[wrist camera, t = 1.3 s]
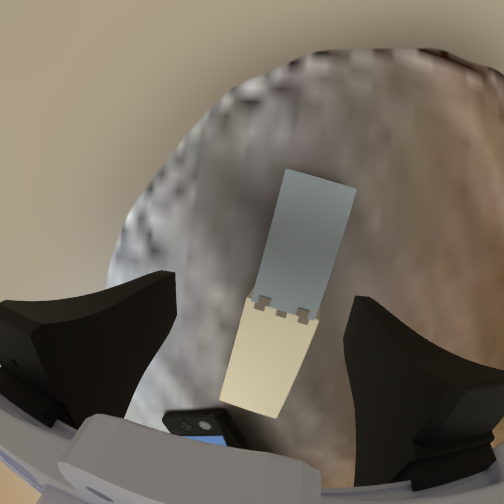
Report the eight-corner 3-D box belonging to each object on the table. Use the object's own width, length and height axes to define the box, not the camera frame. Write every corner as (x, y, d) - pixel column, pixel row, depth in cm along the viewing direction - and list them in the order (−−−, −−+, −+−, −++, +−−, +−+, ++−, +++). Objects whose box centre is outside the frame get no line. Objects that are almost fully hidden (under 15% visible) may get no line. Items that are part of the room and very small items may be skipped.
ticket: (320, 295, 22) (319, 320, 18) (284, 386, 25) (276, 419, 21) (260, 276, 23) (246, 298, 19) (234, 370, 26) (218, 400, 21)
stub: (346, 188, 20) (356, 189, 14) (316, 287, 22) (313, 321, 16) (295, 173, 21) (285, 168, 15) (268, 272, 23) (250, 301, 17)
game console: (162, 409, 30) (125, 457, 22) (263, 400, 26) (240, 467, 18) (216, 478, 32) (195, 522, 24) (305, 476, 28) (295, 530, 20)
